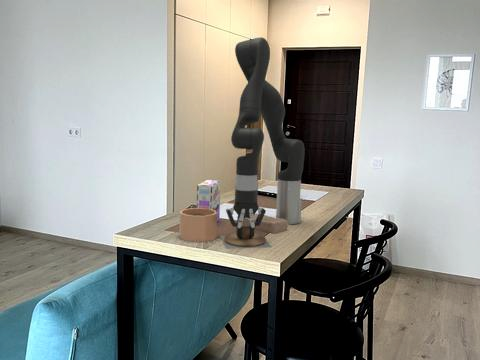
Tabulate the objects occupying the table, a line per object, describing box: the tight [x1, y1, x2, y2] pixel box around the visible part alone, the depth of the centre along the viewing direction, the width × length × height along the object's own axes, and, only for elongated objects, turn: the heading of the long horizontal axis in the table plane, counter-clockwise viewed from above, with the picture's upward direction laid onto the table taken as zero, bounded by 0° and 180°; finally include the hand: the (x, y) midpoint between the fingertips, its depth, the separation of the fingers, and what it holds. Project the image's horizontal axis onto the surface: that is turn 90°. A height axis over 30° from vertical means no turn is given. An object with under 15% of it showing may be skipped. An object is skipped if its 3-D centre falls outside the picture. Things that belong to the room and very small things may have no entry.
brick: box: [241, 213, 289, 234], centre depth 176 cm, size 17×8×5 cm, turn 46°
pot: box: [179, 207, 218, 243], centre depth 161 cm, size 13×13×9 cm
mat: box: [219, 233, 273, 250], centre depth 157 cm, size 15×15×1 cm
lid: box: [224, 225, 267, 247], centre depth 157 cm, size 14×14×5 cm
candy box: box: [196, 179, 221, 223], centre depth 179 cm, size 14×6×16 cm, turn 168°
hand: (245, 237), depth 157 cm, fingers closed on lid, 3 cm apart
